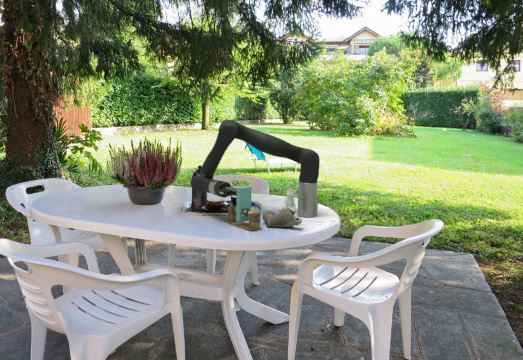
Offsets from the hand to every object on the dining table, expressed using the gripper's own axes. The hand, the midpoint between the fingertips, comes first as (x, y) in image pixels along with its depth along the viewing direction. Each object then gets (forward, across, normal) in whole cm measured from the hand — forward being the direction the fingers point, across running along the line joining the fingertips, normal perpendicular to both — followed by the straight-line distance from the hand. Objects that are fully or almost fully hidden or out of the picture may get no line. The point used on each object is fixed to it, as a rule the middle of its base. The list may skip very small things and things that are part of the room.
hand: (242, 194), depth 209 cm
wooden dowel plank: (+1, 0, -14) cm, 15 cm away
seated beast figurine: (-8, -37, -15) cm, 41 cm away
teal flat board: (+1, 0, -12) cm, 12 cm away
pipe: (+11, -15, -15) cm, 24 cm away
